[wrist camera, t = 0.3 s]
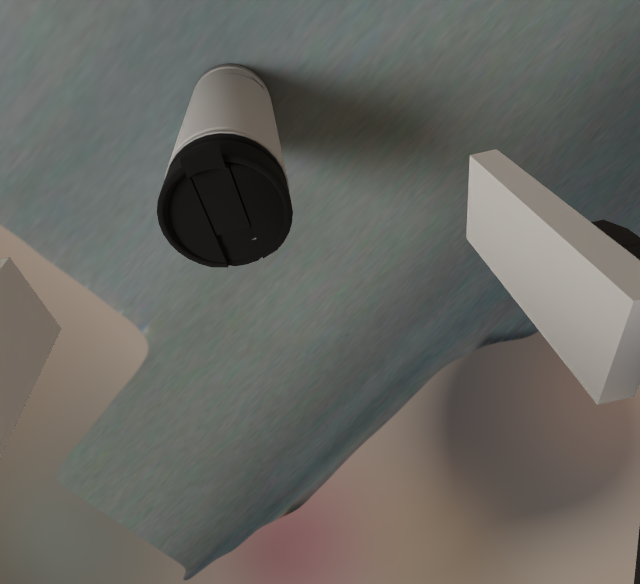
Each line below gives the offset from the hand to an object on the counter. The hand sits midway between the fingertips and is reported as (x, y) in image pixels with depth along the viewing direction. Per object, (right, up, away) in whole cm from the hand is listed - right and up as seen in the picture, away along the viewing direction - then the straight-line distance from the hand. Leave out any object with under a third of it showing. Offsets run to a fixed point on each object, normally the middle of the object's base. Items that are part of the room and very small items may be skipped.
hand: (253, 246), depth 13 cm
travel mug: (-5, +14, +23) cm, 27 cm away
